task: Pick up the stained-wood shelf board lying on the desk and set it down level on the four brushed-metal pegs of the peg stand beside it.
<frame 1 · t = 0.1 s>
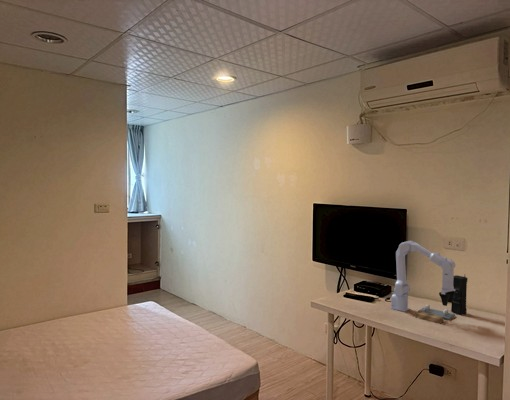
hand: (447, 304, 216), 10 cm above the table, tool pointing down, fingers open, 7 cm apart
portable radio: (457, 313, 230), on the table
shelf board: (429, 319, 219), on the table
peg stand: (436, 314, 226), on the table
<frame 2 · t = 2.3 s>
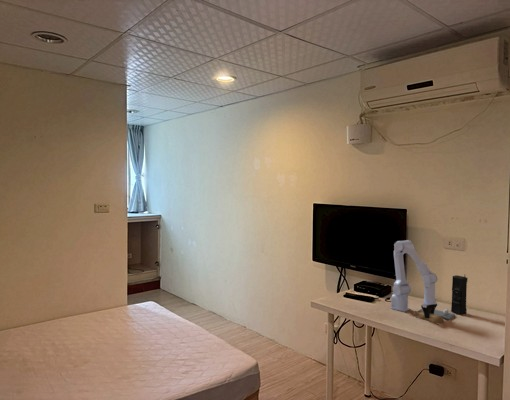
hand: (429, 316, 219), 1 cm above the table, tool pointing down, fingers closed on shelf board, 5 cm apart
shelf board: (429, 319, 219), on the table, touching gripper
everything else where it was.
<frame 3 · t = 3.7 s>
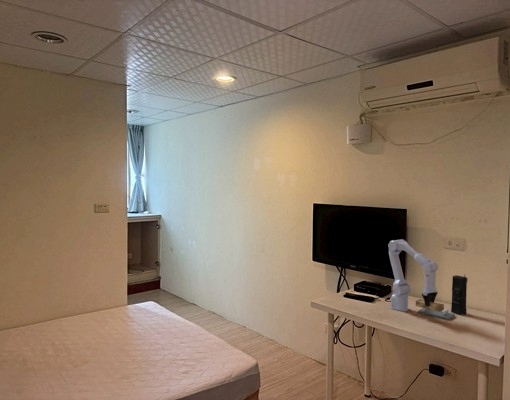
hand: (429, 304, 219), 8 cm above the table, tool pointing down, fingers closed on shelf board, 5 cm apart
shelf board: (429, 307, 219), point 7 cm above the table, touching gripper
everything else where it was.
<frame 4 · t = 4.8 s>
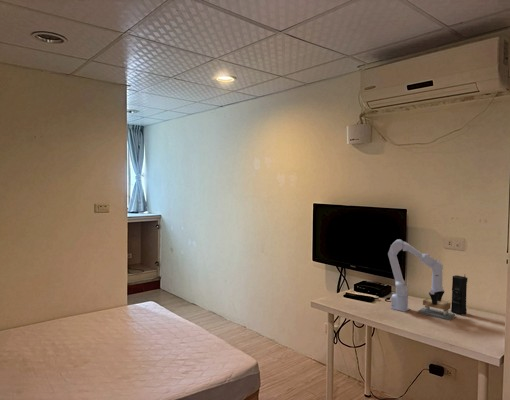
hand: (436, 303, 226), 7 cm above the table, tool pointing down, fingers closed on shelf board, 5 cm apart
shelf board: (436, 306, 226), point 5 cm above the table, touching gripper
everything else where it was.
when the fingers open (7 cm above the table, at t = 5.6 s): shelf board stays where it is, resting on peg stand.
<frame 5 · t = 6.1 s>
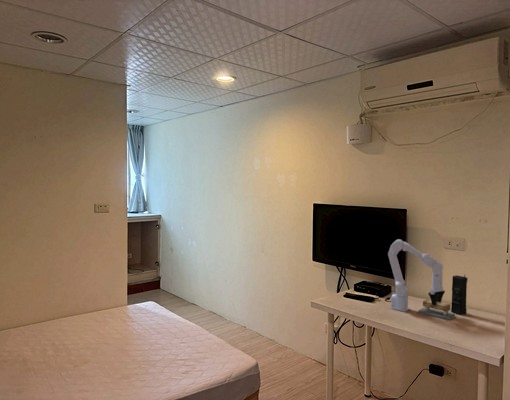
hand: (436, 303, 226), 7 cm above the table, tool pointing down, fingers open, 7 cm apart
shelf board: (436, 307, 226), point 4 cm above the table, touching peg stand
everything else where it was.
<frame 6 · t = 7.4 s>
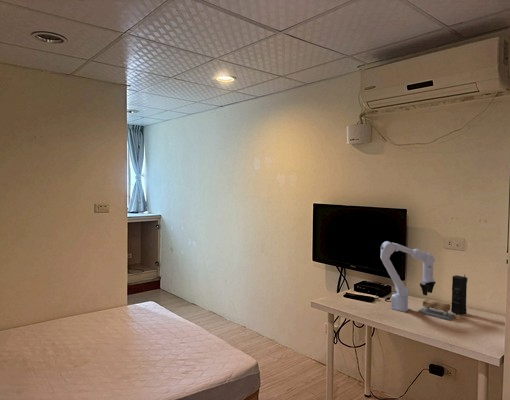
hand: (427, 293, 234), 10 cm above the table, tool pointing down, fingers open, 7 cm apart
nothing on the table moved.
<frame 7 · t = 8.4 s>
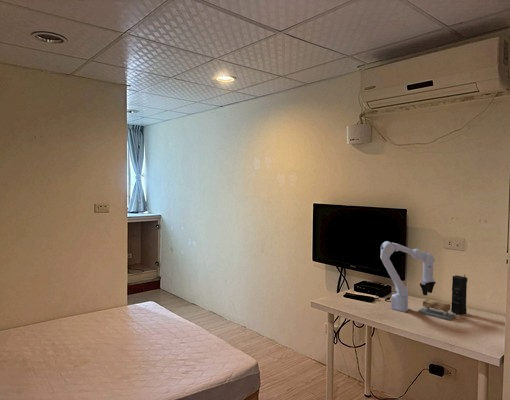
hand: (427, 293, 234), 10 cm above the table, tool pointing down, fingers open, 7 cm apart
nothing on the table moved.
at the end: shelf board 0.0 cm off-centre on the peg stand, point 4.2 cm above the peg stand's base; shelf board tilted 0°; the gripper is holding nothing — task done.
